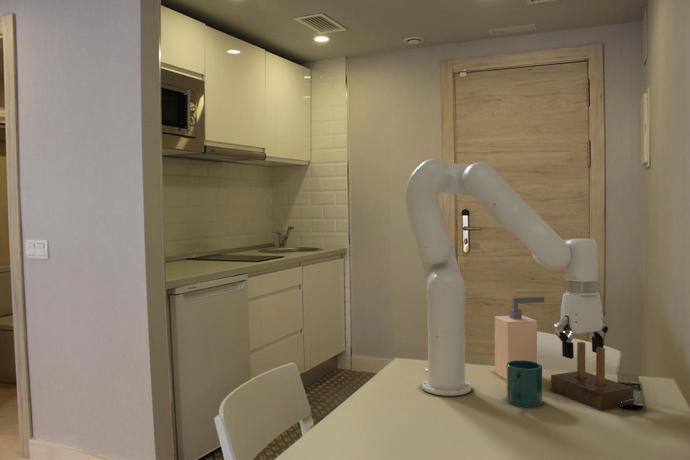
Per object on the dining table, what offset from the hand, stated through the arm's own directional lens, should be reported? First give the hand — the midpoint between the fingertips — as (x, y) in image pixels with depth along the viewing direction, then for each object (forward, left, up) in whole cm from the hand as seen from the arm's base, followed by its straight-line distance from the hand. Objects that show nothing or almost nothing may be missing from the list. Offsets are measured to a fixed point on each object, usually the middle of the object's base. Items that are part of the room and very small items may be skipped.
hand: (583, 355), depth 146 cm
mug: (0, -19, -10) cm, 21 cm away
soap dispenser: (-19, -3, -10) cm, 22 cm away
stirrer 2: (+6, 0, -10) cm, 11 cm away
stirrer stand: (+3, 0, -10) cm, 10 cm away
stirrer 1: (0, 0, -10) cm, 10 cm away
